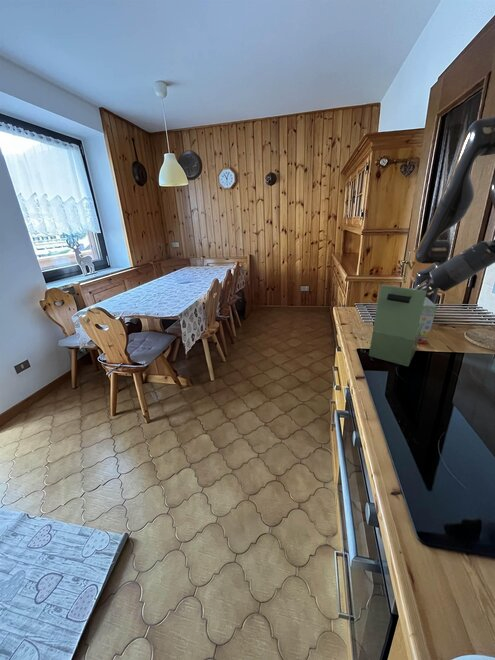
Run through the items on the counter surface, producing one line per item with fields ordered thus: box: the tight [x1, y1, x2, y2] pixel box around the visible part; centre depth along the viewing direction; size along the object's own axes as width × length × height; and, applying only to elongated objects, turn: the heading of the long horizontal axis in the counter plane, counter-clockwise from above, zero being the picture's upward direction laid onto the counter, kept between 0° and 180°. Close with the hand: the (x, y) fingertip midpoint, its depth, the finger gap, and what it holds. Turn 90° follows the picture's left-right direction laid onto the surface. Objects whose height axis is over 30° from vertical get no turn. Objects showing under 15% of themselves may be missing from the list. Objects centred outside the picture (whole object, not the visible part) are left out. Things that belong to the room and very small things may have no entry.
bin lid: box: [372, 284, 427, 340], centre depth 87 cm, size 16×13×5 cm
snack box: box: [418, 297, 438, 344], centre depth 112 cm, size 21×6×15 cm, turn 168°
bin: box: [368, 323, 423, 368], centre depth 99 cm, size 15×13×10 cm
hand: (400, 303), depth 95 cm, fingers closed on chocolate, 3 cm apart
